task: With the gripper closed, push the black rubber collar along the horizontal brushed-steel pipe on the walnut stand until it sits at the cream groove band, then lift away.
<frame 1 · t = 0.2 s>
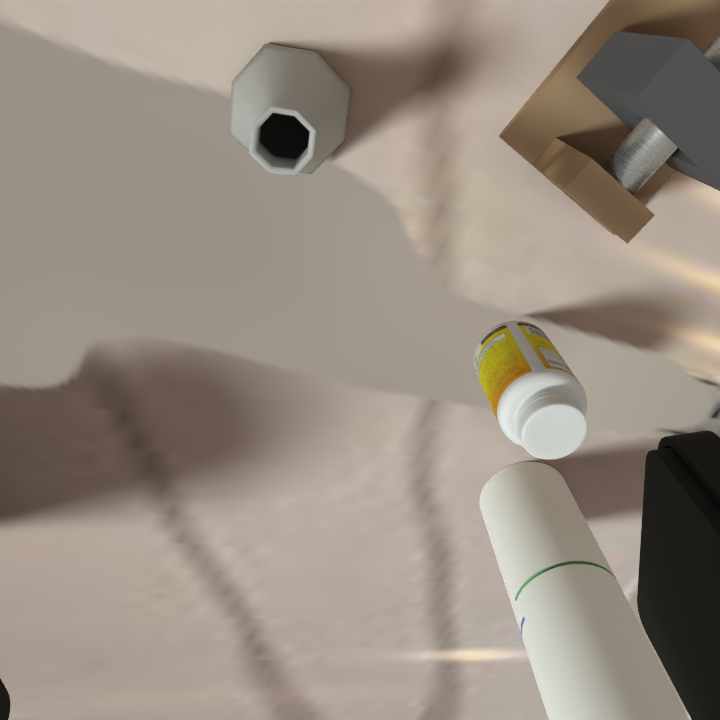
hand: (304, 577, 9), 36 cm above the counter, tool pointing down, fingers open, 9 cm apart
supplement bottle: (509, 351, 49), on the counter
flask: (289, 110, 41), on the counter
cylindrical container: (522, 495, 55), on the counter
rubber collar: (678, 113, 36), point 6 cm above the counter, slide at 0.0 cm
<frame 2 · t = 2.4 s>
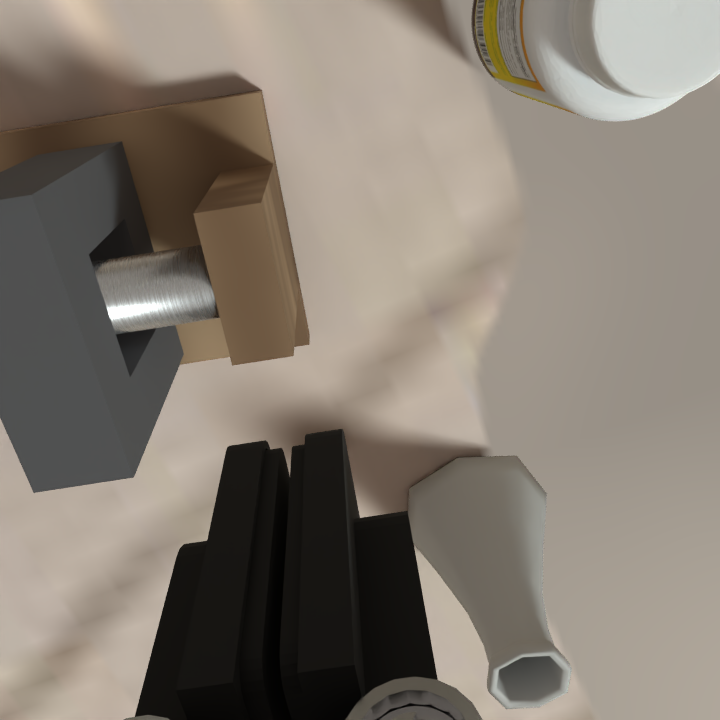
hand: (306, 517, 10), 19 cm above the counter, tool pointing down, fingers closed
supplement bottle: (541, 14, 25), on the counter
flask: (474, 508, 35), on the counter
rubber collar: (81, 301, 22), point 6 cm above the counter, slide at 0.0 cm
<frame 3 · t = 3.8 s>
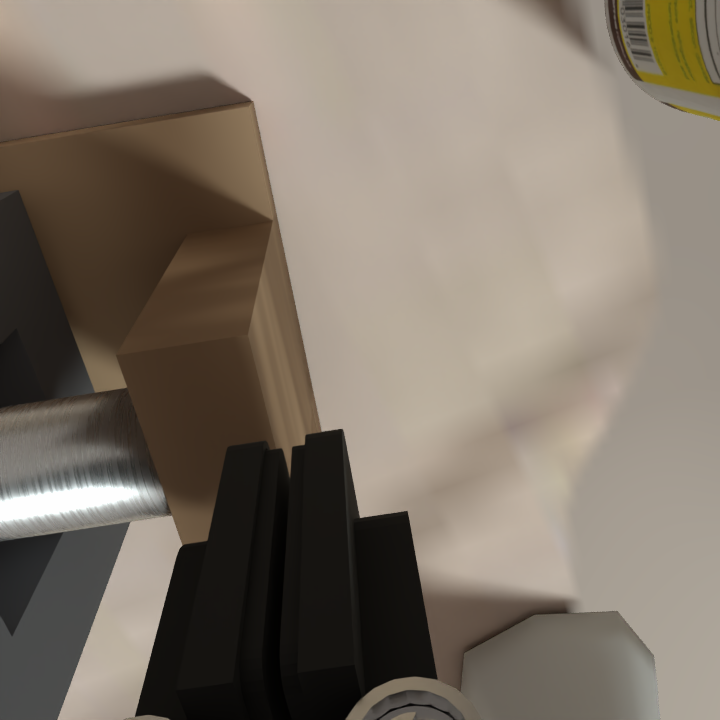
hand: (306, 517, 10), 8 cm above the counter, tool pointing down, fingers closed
flask: (551, 670, 25), on the counter
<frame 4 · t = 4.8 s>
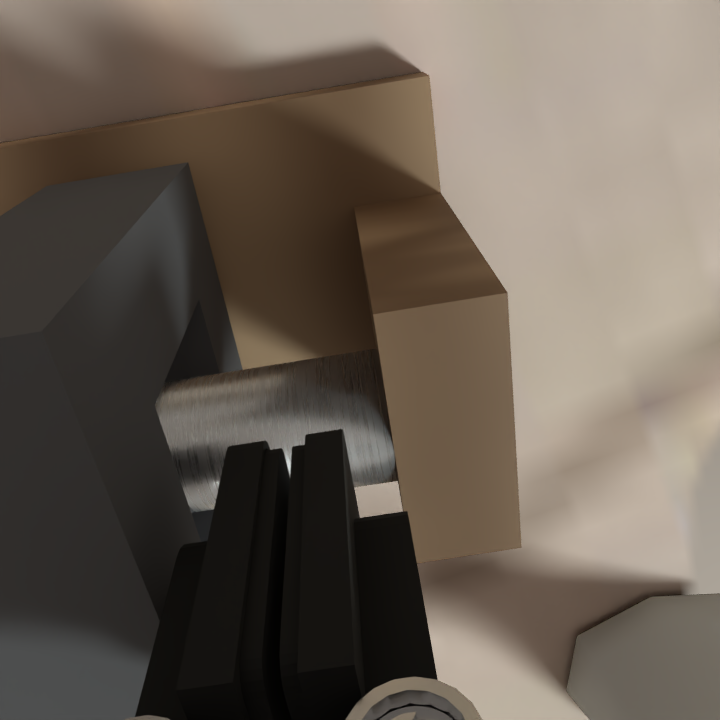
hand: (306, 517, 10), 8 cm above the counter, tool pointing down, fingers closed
flask: (658, 653, 25), on the counter
rubber collar: (129, 454, 12), point 6 cm above the counter, slide at 0.3 cm, touching gripper
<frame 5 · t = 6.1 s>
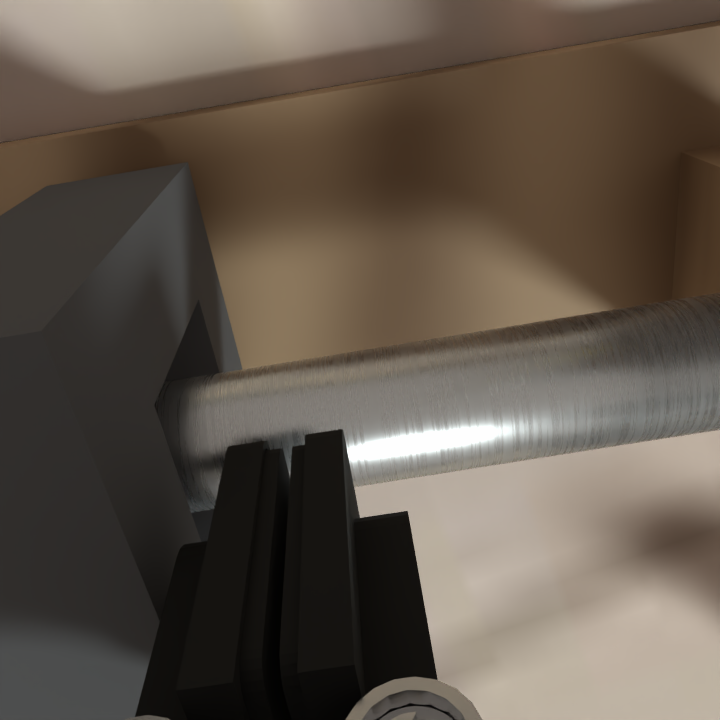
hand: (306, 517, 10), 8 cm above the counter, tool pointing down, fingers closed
steel pipe: (116, 456, 12), point 5 cm above the counter
pipe stand: (177, 322, 18), on the counter
rubber collar: (128, 454, 12), point 6 cm above the counter, slide at 7.8 cm, touching gripper
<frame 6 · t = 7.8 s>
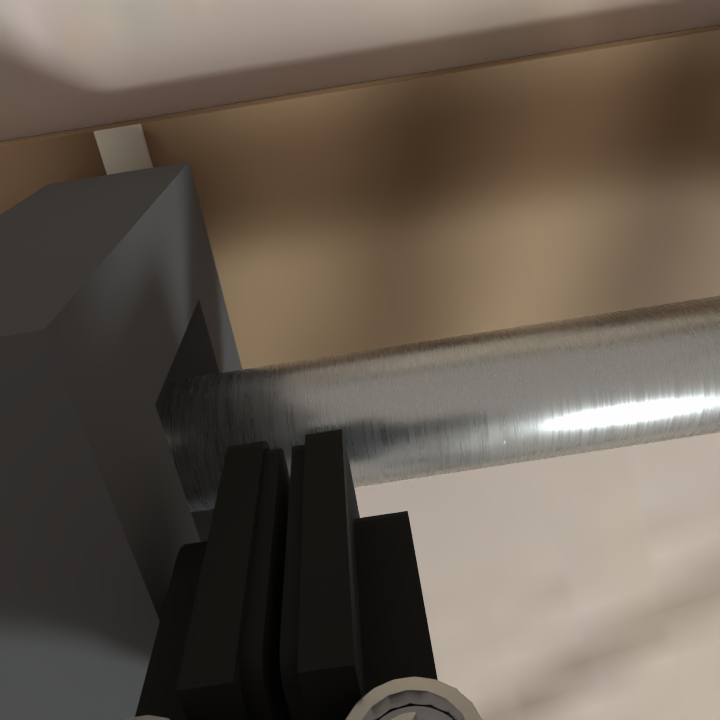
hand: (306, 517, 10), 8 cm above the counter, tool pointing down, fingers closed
steel pipe: (457, 403, 12), point 5 cm above the counter
pipe stand: (415, 284, 18), on the counter
rubber collar: (128, 453, 12), point 6 cm above the counter, slide at 14.0 cm, touching gripper
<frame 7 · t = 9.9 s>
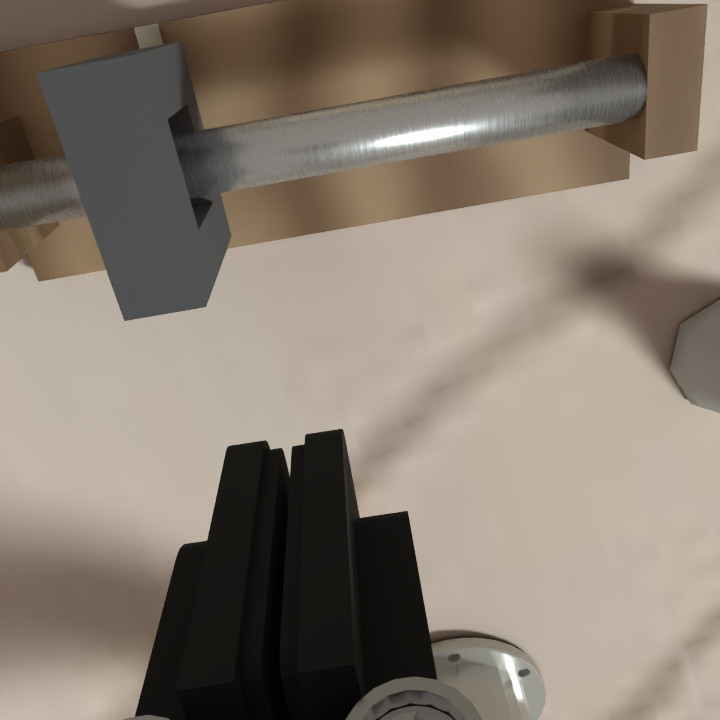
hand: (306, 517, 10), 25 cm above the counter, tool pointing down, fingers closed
steel pipe: (309, 144, 26), point 5 cm above the counter
pipe stand: (310, 120, 31), on the counter
rubber collar: (154, 171, 26), point 6 cm above the counter, slide at 14.1 cm
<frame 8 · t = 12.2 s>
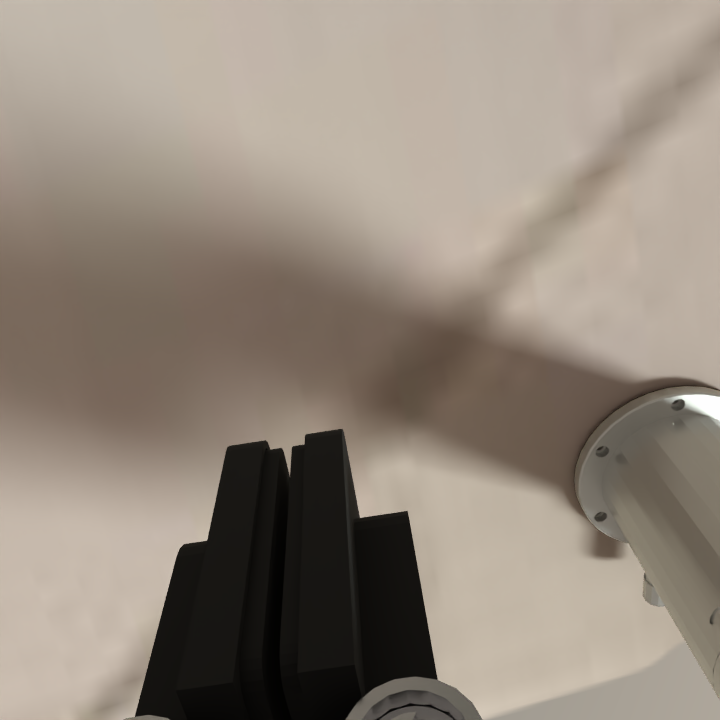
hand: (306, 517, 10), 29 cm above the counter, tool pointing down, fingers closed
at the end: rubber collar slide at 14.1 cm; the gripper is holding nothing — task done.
